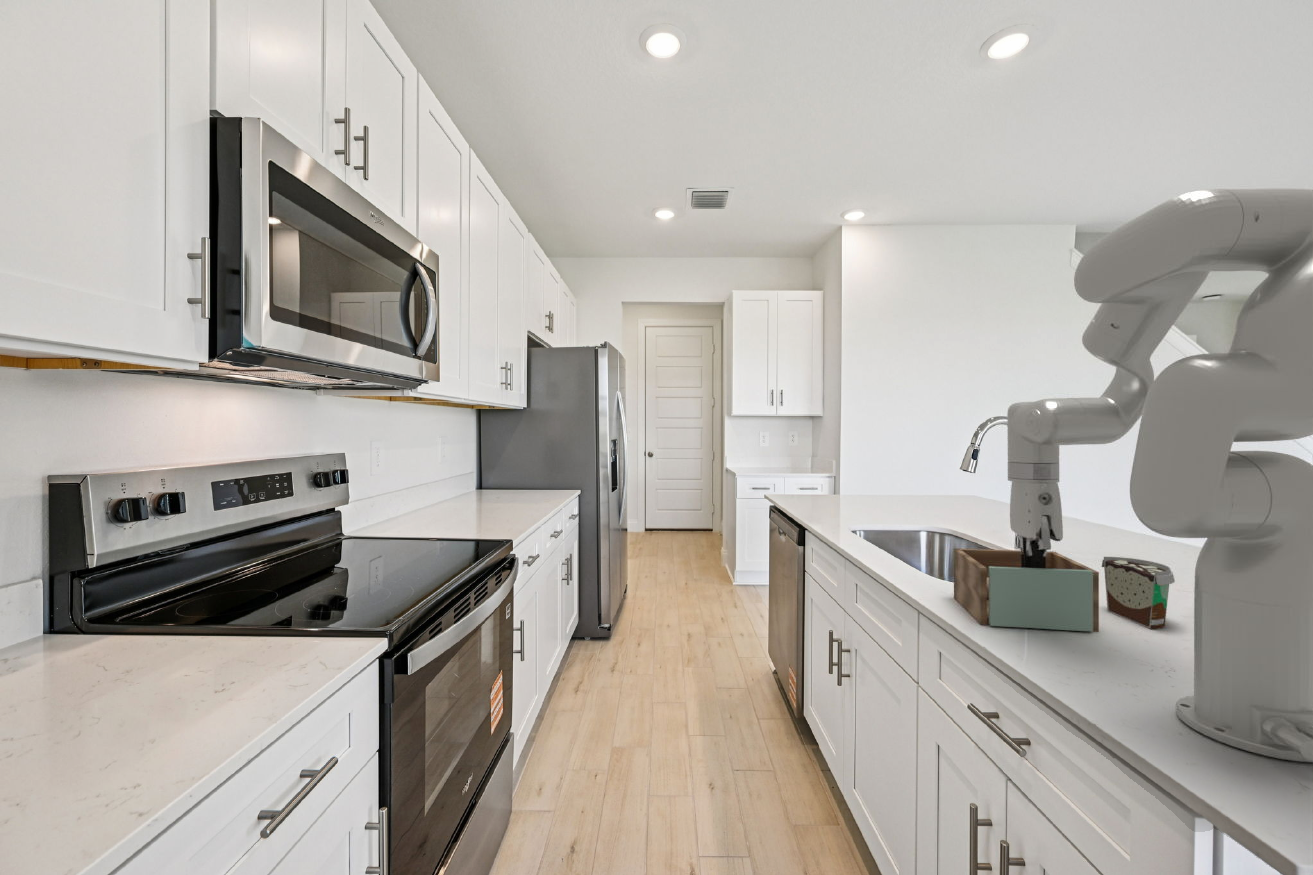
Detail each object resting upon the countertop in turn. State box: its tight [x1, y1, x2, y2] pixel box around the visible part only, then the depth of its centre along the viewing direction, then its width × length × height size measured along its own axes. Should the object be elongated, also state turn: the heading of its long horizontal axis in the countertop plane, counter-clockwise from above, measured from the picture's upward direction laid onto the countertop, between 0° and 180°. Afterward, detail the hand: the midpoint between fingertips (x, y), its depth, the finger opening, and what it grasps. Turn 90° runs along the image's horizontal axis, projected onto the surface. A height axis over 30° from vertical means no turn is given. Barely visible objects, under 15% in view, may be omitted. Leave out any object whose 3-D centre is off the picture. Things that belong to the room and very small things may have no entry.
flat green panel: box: [989, 566, 1094, 632], centre depth 97 cm, size 1×15×10 cm, turn 77°
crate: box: [953, 547, 1100, 632], centre depth 105 cm, size 16×18×10 cm
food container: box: [1101, 556, 1176, 630], centre depth 101 cm, size 12×6×10 cm, turn 179°
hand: (1033, 577), depth 99 cm, fingers closed
